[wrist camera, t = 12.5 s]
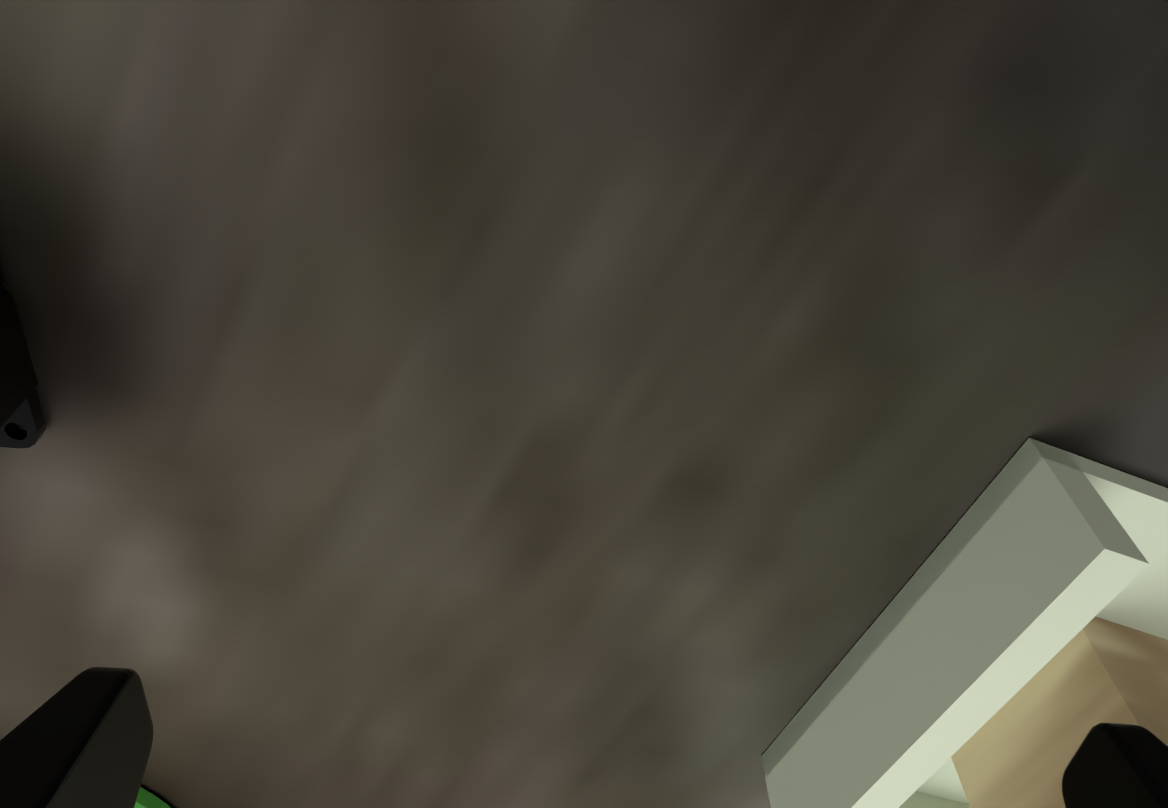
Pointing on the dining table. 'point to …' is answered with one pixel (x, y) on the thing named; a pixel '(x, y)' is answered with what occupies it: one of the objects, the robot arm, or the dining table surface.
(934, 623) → the bay
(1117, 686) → the beige rectangular block
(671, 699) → the dining table surface
